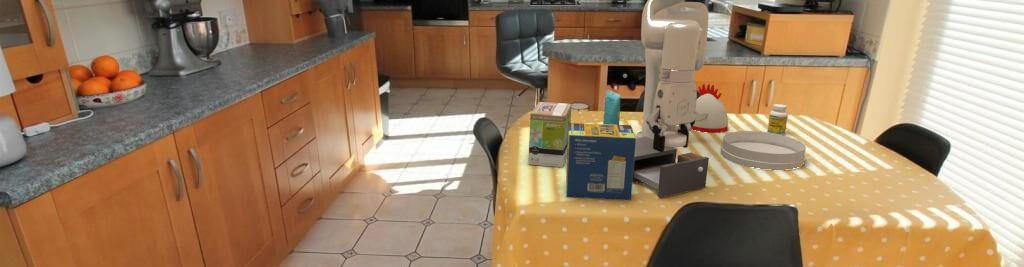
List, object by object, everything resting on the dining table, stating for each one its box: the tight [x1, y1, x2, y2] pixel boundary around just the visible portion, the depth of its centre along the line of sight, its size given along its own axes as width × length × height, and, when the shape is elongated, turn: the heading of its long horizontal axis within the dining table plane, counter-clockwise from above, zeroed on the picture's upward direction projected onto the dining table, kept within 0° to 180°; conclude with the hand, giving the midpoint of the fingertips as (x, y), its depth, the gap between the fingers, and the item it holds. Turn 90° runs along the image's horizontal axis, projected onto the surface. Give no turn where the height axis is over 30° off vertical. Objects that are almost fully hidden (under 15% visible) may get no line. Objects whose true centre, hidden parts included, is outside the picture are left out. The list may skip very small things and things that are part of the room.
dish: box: [720, 130, 807, 171], centre depth 158 cm, size 22×22×5 cm
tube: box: [602, 89, 622, 125], centre depth 154 cm, size 7×5×19 cm, turn 26°
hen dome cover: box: [691, 83, 729, 134], centre depth 187 cm, size 14×14×15 cm
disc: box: [663, 131, 687, 148], centre depth 134 cm, size 7×7×2 cm
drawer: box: [633, 156, 710, 199], centre depth 136 cm, size 12×15×8 cm
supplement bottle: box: [766, 103, 789, 136], centre depth 181 cm, size 5×5×10 cm
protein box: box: [565, 122, 637, 201], centre depth 132 cm, size 10×15×16 cm
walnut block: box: [676, 152, 704, 163], centre depth 144 cm, size 5×5×5 cm
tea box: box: [527, 101, 572, 168], centre depth 155 cm, size 15×10×15 cm, turn 168°
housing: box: [632, 137, 678, 184], centre depth 146 cm, size 12×15×7 cm
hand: (670, 147), depth 134 cm, fingers closed on disc, 7 cm apart
